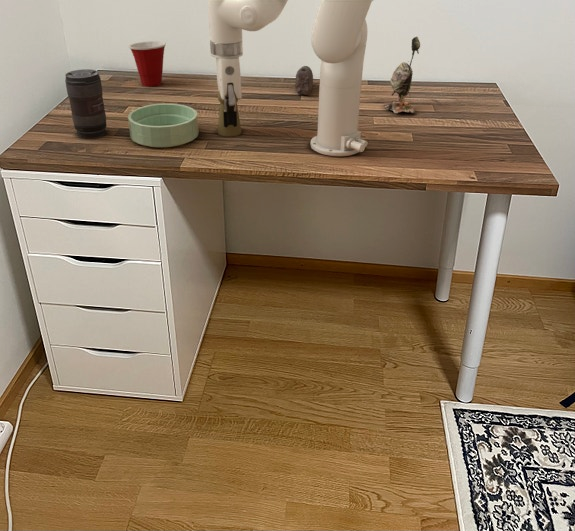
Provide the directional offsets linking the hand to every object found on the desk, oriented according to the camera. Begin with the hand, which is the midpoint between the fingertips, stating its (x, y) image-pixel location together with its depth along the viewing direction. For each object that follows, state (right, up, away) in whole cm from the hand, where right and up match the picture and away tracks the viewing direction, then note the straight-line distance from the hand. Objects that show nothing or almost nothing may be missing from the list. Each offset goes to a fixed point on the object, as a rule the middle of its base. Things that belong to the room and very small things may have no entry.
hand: (229, 122), depth 156 cm
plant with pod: (+46, +8, +18) cm, 50 cm away
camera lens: (-34, -3, -1) cm, 34 cm away
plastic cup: (-27, +19, +34) cm, 47 cm away
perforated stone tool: (+20, +17, +31) cm, 40 cm away
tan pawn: (0, -2, +2) cm, 3 cm away
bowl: (-16, -4, -2) cm, 16 cm away
